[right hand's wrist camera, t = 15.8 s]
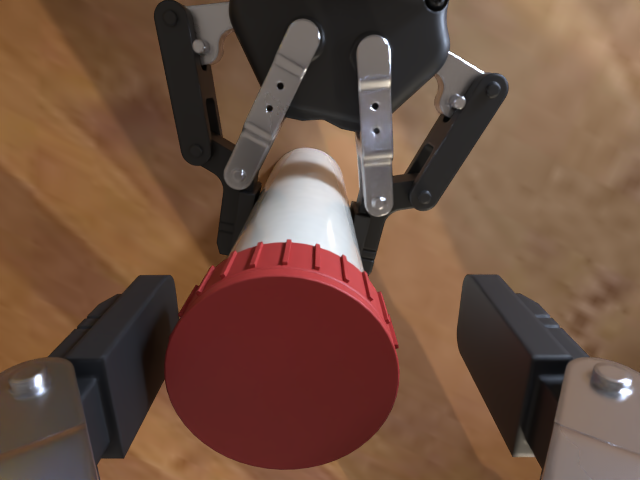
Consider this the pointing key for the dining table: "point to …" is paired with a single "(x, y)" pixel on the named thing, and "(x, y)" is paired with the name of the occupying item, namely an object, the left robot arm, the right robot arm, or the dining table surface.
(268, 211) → the jar
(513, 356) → the right robot arm
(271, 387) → the lid
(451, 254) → the dining table surface
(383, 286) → the dining table surface
